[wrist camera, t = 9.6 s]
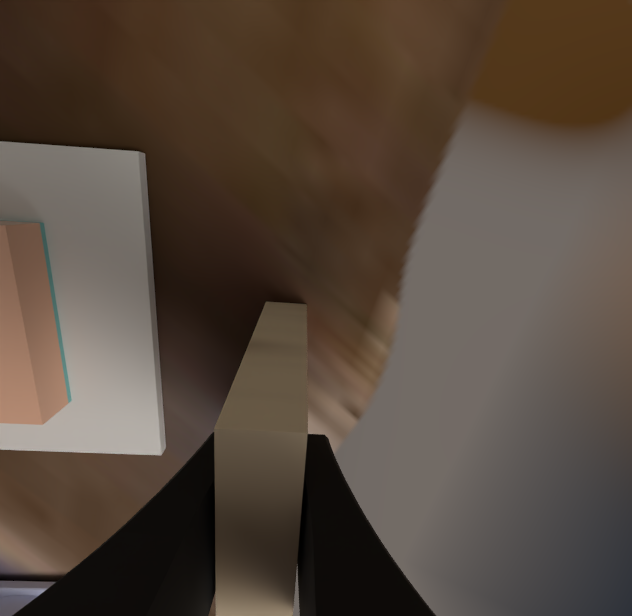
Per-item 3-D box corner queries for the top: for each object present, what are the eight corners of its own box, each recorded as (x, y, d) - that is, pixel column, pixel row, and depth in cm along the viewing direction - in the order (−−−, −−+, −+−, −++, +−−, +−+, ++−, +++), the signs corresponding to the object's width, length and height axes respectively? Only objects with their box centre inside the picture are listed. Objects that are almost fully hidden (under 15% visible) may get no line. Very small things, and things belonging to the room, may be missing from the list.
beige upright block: (297, 433, 15) (289, 662, 8) (261, 431, 15) (216, 661, 8) (306, 303, 14) (307, 433, 6) (266, 301, 14) (214, 428, 6)
